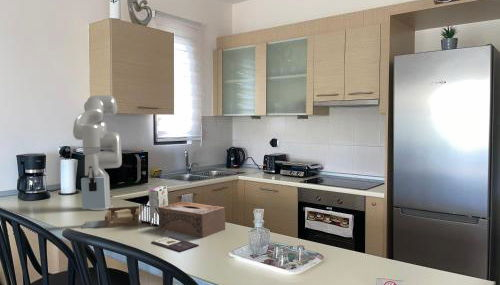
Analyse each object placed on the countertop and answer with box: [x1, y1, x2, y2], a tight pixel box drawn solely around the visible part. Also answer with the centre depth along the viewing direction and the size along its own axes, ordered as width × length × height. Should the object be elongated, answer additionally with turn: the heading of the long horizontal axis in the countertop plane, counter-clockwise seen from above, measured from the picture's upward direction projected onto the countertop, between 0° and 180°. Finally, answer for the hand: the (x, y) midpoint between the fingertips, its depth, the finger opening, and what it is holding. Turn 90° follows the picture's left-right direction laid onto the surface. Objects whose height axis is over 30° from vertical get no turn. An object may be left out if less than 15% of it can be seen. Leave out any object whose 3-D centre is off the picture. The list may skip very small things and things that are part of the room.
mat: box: [81, 219, 105, 229], centre depth 193 cm, size 11×11×1 cm
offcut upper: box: [115, 209, 131, 218], centre depth 193 cm, size 4×6×2 cm, turn 133°
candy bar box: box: [148, 185, 169, 226], centre depth 193 cm, size 11×5×16 cm, turn 168°
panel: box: [80, 177, 106, 210], centre depth 192 cm, size 4×10×14 cm, turn 102°
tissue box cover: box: [159, 201, 226, 239], centre depth 181 cm, size 26×14×10 cm, turn 54°
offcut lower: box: [112, 214, 134, 223], centre depth 193 cm, size 4×9×4 cm, turn 108°
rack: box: [104, 205, 141, 228], centre depth 195 cm, size 14×14×6 cm
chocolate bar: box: [151, 236, 200, 253], centre depth 159 cm, size 9×1×18 cm
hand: (93, 189), depth 192 cm, fingers closed on panel, 3 cm apart
